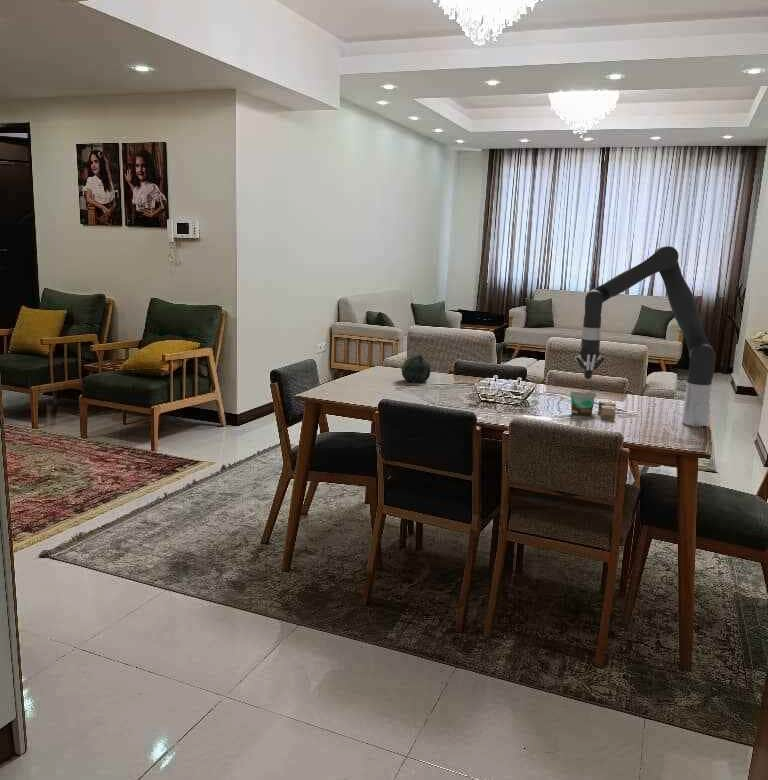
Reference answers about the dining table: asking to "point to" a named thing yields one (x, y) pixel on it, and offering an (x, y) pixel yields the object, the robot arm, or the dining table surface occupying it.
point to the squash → (416, 369)
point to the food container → (582, 402)
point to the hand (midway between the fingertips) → (587, 378)
